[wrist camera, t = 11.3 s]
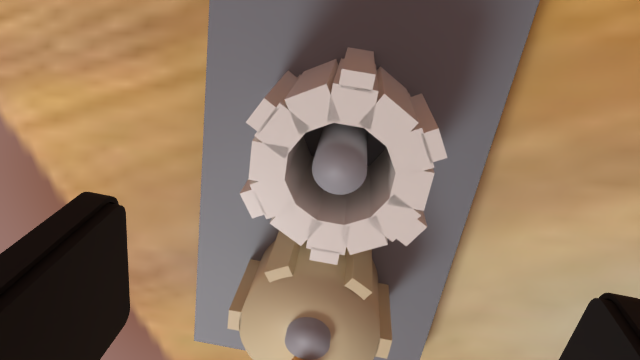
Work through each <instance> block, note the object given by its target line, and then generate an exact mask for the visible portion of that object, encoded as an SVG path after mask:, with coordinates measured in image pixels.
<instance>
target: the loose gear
mask: <svg viewBox="0 0 640 360" xmlns="http://www.w3.org/2000/svg"><path fill="white" fill-rule="evenodd" d="M246 123H247V124H248V125H250V126H251V127H252V128H253V129H255V130H256V131H257V132H256V134H255V135H254V136H255V137H254V139H253V140H252V146H251V157H250V168H249V179H248V180H247V182H246V184H245V185H244V187H243V189H242V190H241V192H240V195H241V197H242V199H243V201H244V203H245V205H246V207H247V209H248V211H249V213H250V215H251V217H252V218H255V217H259V216H262V215H264V216H265V218H266V219H269V218H272V219H271V221H270V224H271V225H273V226H274V227H275V228H277V229H278V230H279V231H281V232H282V233H284V234H285V235H286V236H288V237H289V238H290V239H292V240H293V241H295V242H296V243H297V244H299V245H300V246H302V245H303V244H304V242H305V241H306V240H307V245H306V248H307V249H311V253H310V259H309V260H312V261H318V262H323V263H329V264H334V265H337V264H338V259H339V254H340V255H345V251H346V247H347V249H348V251H349V254H350V255H352V254H356V253H359V252H363V251H367V250H370V249H374V248H378V247H381V246H385V245H388V240H387V238H388V239H389V240H391V241H392V242H393V241H394V240H395V239H397V240H399V241H400V242H401V243H403V244H404V245H405V246H407V245H408V244H409V243H411V242H412V241H413V240H414V239H415V238H416V237H417V236H418V235H419V234H420V233H422V232H423V231H424V230H425V229H426V228H427V224H426V220H425V216H424V212H423V211H424V209H425V205H426V202H427V198H428V195H429V191H430V188H431V184H432V181H433V177H434V170H433V168H434V164H433V162H436V161H439V160H442V159H445V158H447V154H446V151H445V148H444V144H443V141H442V138H441V134H440V131H439V128H438V126H437V124H436V122H435V120H434V118H433V115H432V113H431V111H430V109H429V107H428V105H427V103H426V101H425V99H424V97H423V95H422V93H421V94H418V95H415V96H413V97H411V96H410V94H409V93H408V91H407V89H406V88H405V87H404V86H403V85H401V84H400V83H399V82H398V81H397V80H396V79H394V78H393V77H392V76H391V75H390V74H389V73H387V72H386V71H385V70H384V69H383V68H382V67H379V69H378V70H376V64H375V61H374V52H373V51H367V50H362V49H356V48H350V47H348V48H347V51H346V55H345V58H344V59H342V58H341V60H340V63H339V65H338V62H337V60H336V59H335V60H332V61H329V62H327V63H324V64H322V65H319V66H316V67H314V68H311V69H308V70H306V71H304V72H303V73H302V75H299V76H298V77H296V76H295V75H293V74H292V73H291V72H290V71H287V72H286V73H285V74H284V76H283V77H282V78H281V79H280V80H279V81H278V83H277V84H276V85H275V86H274V87H273V88H272V89H271V91H270V92H269V93H268V94H267V95H266V96H265V98H264V99H263V100H262V101H261V103H260V104H259V105H258V107H257V108H256V109H255V111H254V112H253V113H252V115H251V116H250V117H249V119H248V120H247V121H246ZM331 123H338V124H344V125H350V126H355V127H361V128H364V129H366V130H367V131H368V132H369V133H370V134H372V135H373V136H374V137H375V138H377V139H378V140H379V141H380V142H381V143H383V144H384V145H385V150H384V151H383V152H382V153H381V154H380V155H379V156H378V157H377V158H376V160H375V161H374V162H373V163H372V164H371V165H370V166H367V175H366V179H365V181H364V182H363V184H362V185H361V186H360V187H359V188H358V189H357V190H355V191H353V192H351V193H349V194H344V195H337V194H332V193H329V192H327V191H325V190H323V189H322V188H321V187H320V186H319V185H318V184H317V183H316V181H315V179H314V177H313V173H312V164H313V160H314V157H313V156H311V154H310V152H309V149H308V147H307V145H306V142H305V140H304V137H303V135H304V134H305V133H306V132H309V131H311V130H314V129H317V128H320V127H323V126H326V125H329V124H331Z"/></svg>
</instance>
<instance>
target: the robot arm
mask: <svg viewBox="0 0 640 360" xmlns="http://www.w3.org/2000/svg"><path fill="white" fill-rule="evenodd" d="M129 312H130V297H129V275H128V253H127V231H126V212H125V208H124V207H123V206H121V205H119V204H118V201H117V199H116V198H115V197H112V196H107V195H102V194H97V193H92V192H83V193H81V194H80V195H78V196H77V197H76V198H74V199H73V200H72V201H70V202H69V203H68V204H66V205H65V206H64V207H62V208H61V209H60V210H59V211H57V212H56V213H55V214H53V215H52V216H50V217H49V218H48V219H46V220H45V221H44V222H43V223H41V224H40V225H39V226H37V227H36V228H34V229H33V230H32V231H30V232H29V233H28V234H27V235H25V236H24V237H22V238H21V239H20V240H18V241H17V242H16V243H14V244H13V245H12V246H11V247H9V248H8V249H6V250H5V251H4V252H2V253H1V254H0V360H100V359H101V357H102V356H103V355H104V353H105V352H106V350H107V349H108V348H109V346H110V345H111V343H112V342H113V341H114V339H115V338H116V336H117V335H118V334H119V332H120V331H121V329H122V328H123V327H124V325H125V323H126V321H127V319H128V316H129ZM559 360H640V299H638V298H633V297H628V296H623V295H618V294H613V293H604V294H603V295H601V296H600V297H599V298H594V299H593V300H591V301H590V303H589V304H588V306H587V308H586V310H585V312H584V314H583V316H582V317H581V319H580V321H579V323H578V325H577V327H576V329H575V331H574V332H573V334H572V336H571V338H570V340H569V342H568V344H567V346H566V347H565V349H564V351H563V353H562V355H561V357H560V359H559Z"/></svg>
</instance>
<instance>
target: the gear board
mask: <svg viewBox="0 0 640 360" xmlns="http://www.w3.org/2000/svg"><path fill="white" fill-rule="evenodd" d="M539 1H540V0H210V4H209V26H208V48H207V70H206V92H205V114H204V135H203V157H202V179H201V201H200V223H199V245H198V267H197V289H196V311H195V333H194V341H199V342H204V343H209V344H214V345H220V346H225V347H230V348H235V349H241V350H246V351H247V353H248V354H249V356H250V357H251V358H252V359H253V360H420V357H421V354H422V351H423V348H424V345H425V342H426V339H427V336H428V333H429V330H430V327H431V324H432V321H433V318H434V315H435V312H436V309H437V306H438V303H439V300H440V297H441V294H442V291H443V288H444V285H445V282H446V279H447V276H448V273H449V270H450V267H451V264H452V261H453V258H454V255H455V252H456V249H457V246H458V243H459V240H460V237H461V234H462V231H463V228H464V225H465V222H466V219H467V216H468V213H469V210H470V207H471V204H472V201H473V198H474V195H475V192H476V189H477V186H478V183H479V180H480V177H481V175H482V172H483V169H484V166H485V163H486V160H487V157H488V154H489V151H490V148H491V145H492V142H493V139H494V136H495V133H496V130H497V127H498V124H499V121H500V118H501V115H502V112H503V109H504V106H505V103H506V100H507V97H508V94H509V91H510V88H511V85H512V82H513V79H514V76H515V73H516V70H517V67H518V64H519V61H520V58H521V55H522V52H523V49H524V46H525V43H526V40H527V37H528V34H529V31H530V28H531V25H532V22H533V19H534V16H535V13H536V10H537V7H538V4H539ZM348 47H350V48H356V49H362V50H367V51H373V52H374V61H375V64H376V70H378V69H379V67H382V68H383V69H384V70H385V71H386V72H387V73H389V74H390V75H391V76H392V77H393V78H394V79H396V80H397V81H398V82H399V83H400V84H401V85H403V86H404V87H405V88H406V89H407V91H408V93H409V94H410V96H411V97H413V96H415V95H418V94H421V93H422V95H423V97H424V99H425V101H426V103H427V105H428V107H429V109H430V111H431V113H432V115H433V118H434V120H435V122H436V124H437V126H438V128H439V131H440V134H441V138H442V141H443V144H444V148H445V151H446V154H447V158H445V159H442V160H439V161H436V162H433V164H434V168H433V170H434V177H433V181H432V184H431V188H430V191H429V195H428V198H427V202H426V205H425V209H424V211H423V212H424V216H425V220H426V224H427V228H426V229H425V230H424V231H423V232H422V233H420V234H419V235H418V236H417V237H416V238H415V239H414V240H413V241H412V242H411V243H409V244H408V245H407V246H405V245H404V244H403V243H401V242H400V241H399V240H397V239H395V240H394V241H393V242H392V241H391V240H389V239H388V238H387V240H388V245H385V246H381V247H378V248H374V249H370V250H367V251H363V252H359V253H356V254H352V255H350V254H349V251H348V249H347V247H346V251H345V255H340V254H339V259H338V264H337V265H334V264H329V263H323V262H318V261H312V260H309V259H310V253H311V249H307V248H306V245H307V240H306V241H305V242H304V244H303V245H302V246H300V245H299V244H297V243H296V242H295V241H293V240H292V239H290V238H289V237H288V236H286V235H285V234H284V233H282V232H281V231H279V230H278V229H277V228H275V227H274V226H273V225H271V224H270V221H271V219H272V218H269V219H266V218H265V216H264V215H262V216H259V217H255V218H252V217H251V215H250V213H249V211H248V209H247V207H246V205H245V203H244V201H243V199H242V197H241V195H240V192H241V190H242V189H243V187H244V185H245V184H246V182H247V180H248V179H249V168H250V157H251V146H252V140H253V139H254V137H255V136H254V135H255V134H256V132H257V131H256V130H255V129H253V128H252V127H251V126H250V125H248V124H247V123H246V121H247V120H248V119H249V117H250V116H251V115H252V113H253V112H254V111H255V109H256V108H257V107H258V105H259V104H260V103H261V101H262V100H263V99H264V98H265V96H266V95H267V94H268V93H269V92H270V91H271V89H272V88H273V87H274V86H275V85H276V84H277V83H278V81H279V80H280V79H281V78H282V77H283V76H284V74H285V73H286V72H287V71H290V72H291V73H292V74H293V75H295V76H296V77H298V76H299V75H302V73H303V72H304V71H306V70H308V69H311V68H314V67H316V66H319V65H322V64H324V63H327V62H329V61H332V60H335V59H336V60H337V62H338V65H339V63H340V60H341V58H342V59H344V58H345V55H346V51H347V48H348ZM303 137H304V140H305V142H306V145H307V147H308V149H309V152H310V154H311V156H313V157H314V160H313V164H312V173H313V177H314V179H315V181H316V183H317V184H318V185H319V186H320V187H321V188H322V189H323V190H325V191H327V192H329V193H332V194H337V195H344V194H349V193H351V192H353V191H355V190H357V189H358V188H359V187H360V186H361V185H362V184H363V182H364V181H365V179H366V175H367V166H370V165H371V164H372V163H373V162H374V161H375V160H376V158H377V157H378V156H379V155H380V154H381V153H382V152H383V151H384V150H385V145H384V144H383V143H381V142H380V141H379V140H378V139H377V138H375V137H374V136H373V135H372V134H370V133H369V132H368V131H367V130H366V129H364V128H361V127H355V126H350V125H344V124H338V123H331V124H329V125H326V126H323V127H320V128H317V129H314V130H311V131H309V132H306V133H305V134H304V135H303Z"/></svg>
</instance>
